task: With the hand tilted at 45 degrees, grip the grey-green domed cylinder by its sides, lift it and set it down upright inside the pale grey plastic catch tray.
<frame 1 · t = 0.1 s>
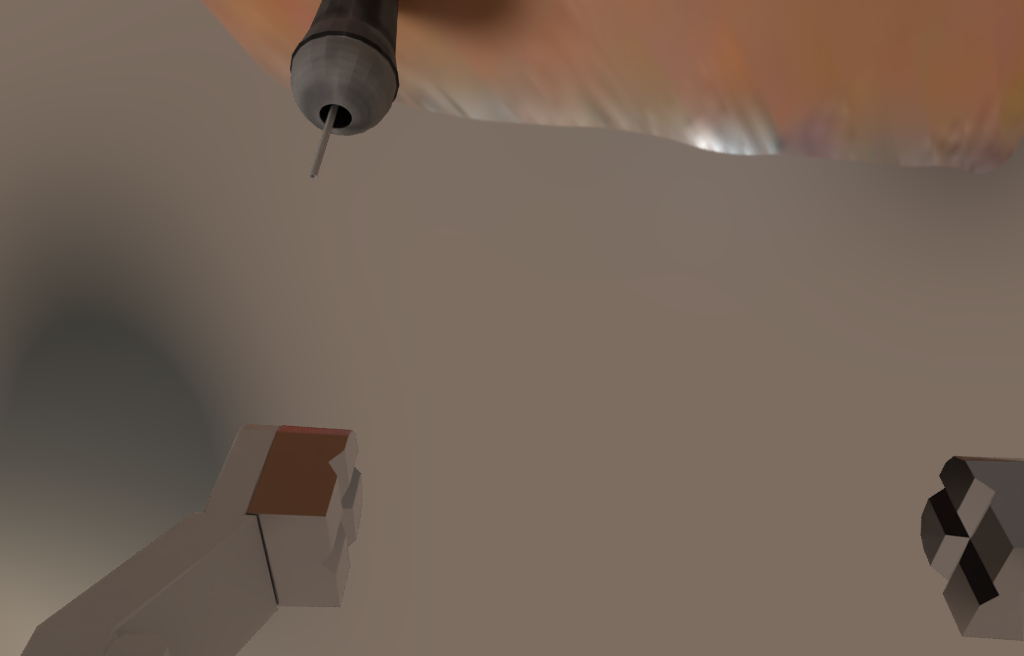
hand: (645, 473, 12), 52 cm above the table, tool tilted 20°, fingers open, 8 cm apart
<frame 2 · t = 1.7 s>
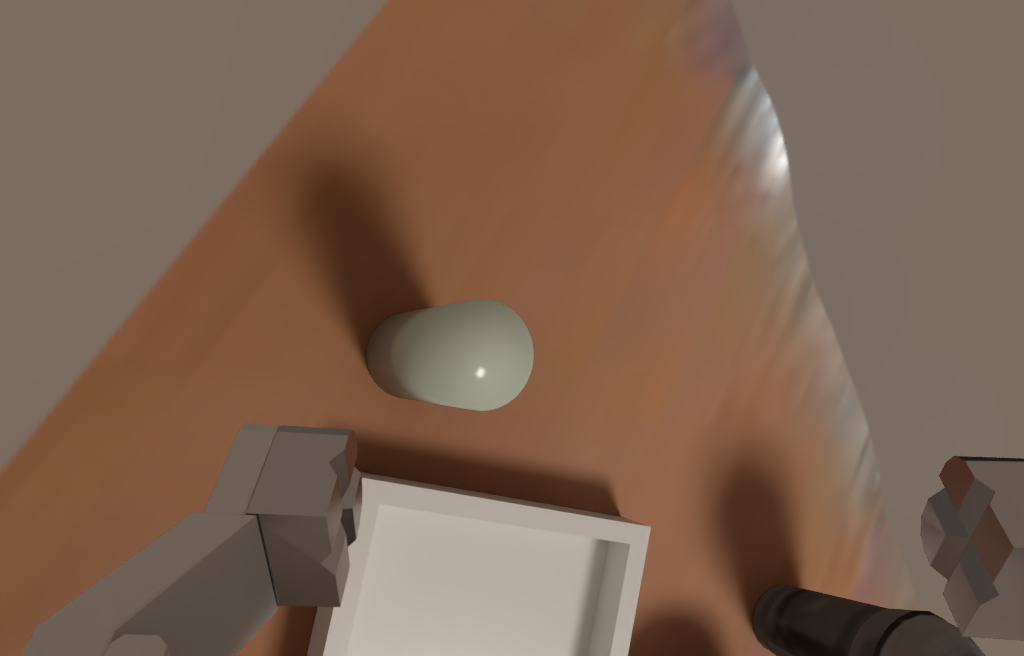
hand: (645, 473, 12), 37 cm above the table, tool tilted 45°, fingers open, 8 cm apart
beverage cup: (777, 617, 59), on the table
catch tray: (466, 629, 50), on the table
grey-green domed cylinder: (408, 355, 49), on the table
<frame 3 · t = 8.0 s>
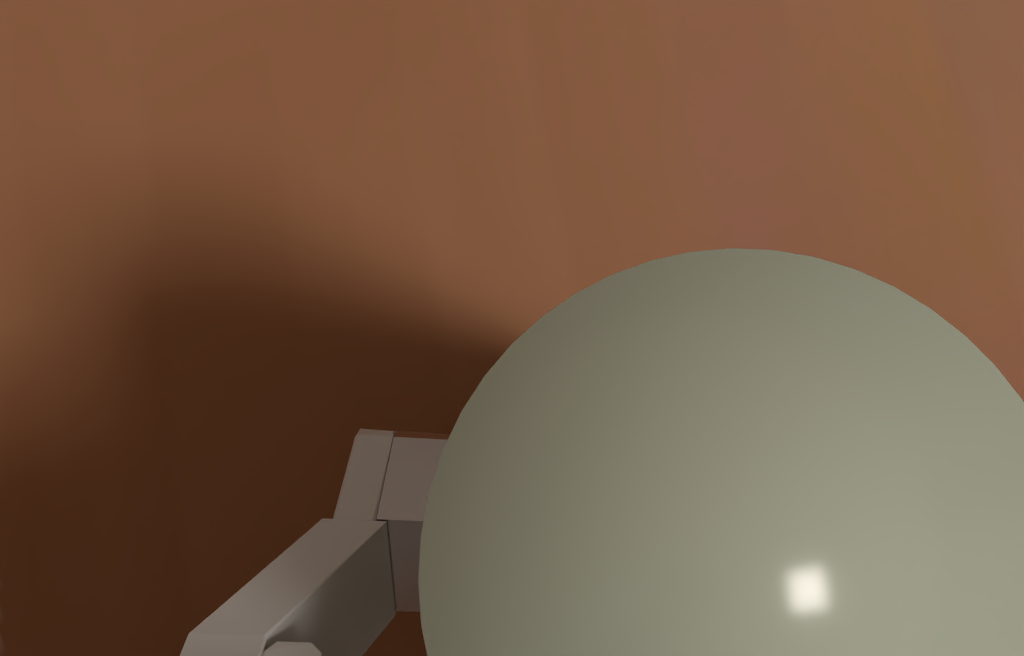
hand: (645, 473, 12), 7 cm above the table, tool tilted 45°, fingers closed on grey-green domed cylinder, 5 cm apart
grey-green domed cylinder: (598, 494, 18), on the table, touching gripper
when the fingers open (9 cm above the table, at t = 16.4 s): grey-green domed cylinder drops 1 cm, resting on catch tray.
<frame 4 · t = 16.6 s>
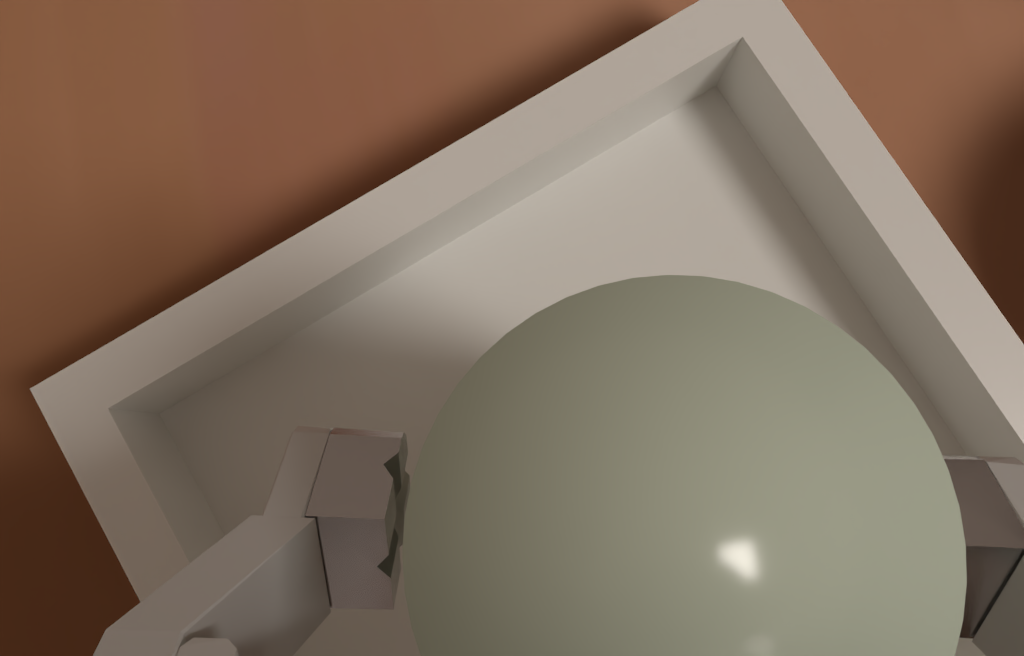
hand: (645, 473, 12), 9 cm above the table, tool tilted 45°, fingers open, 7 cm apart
catch tray: (590, 489, 20), on the table
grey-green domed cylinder: (594, 490, 19), point 1 cm above the table, touching catch tray
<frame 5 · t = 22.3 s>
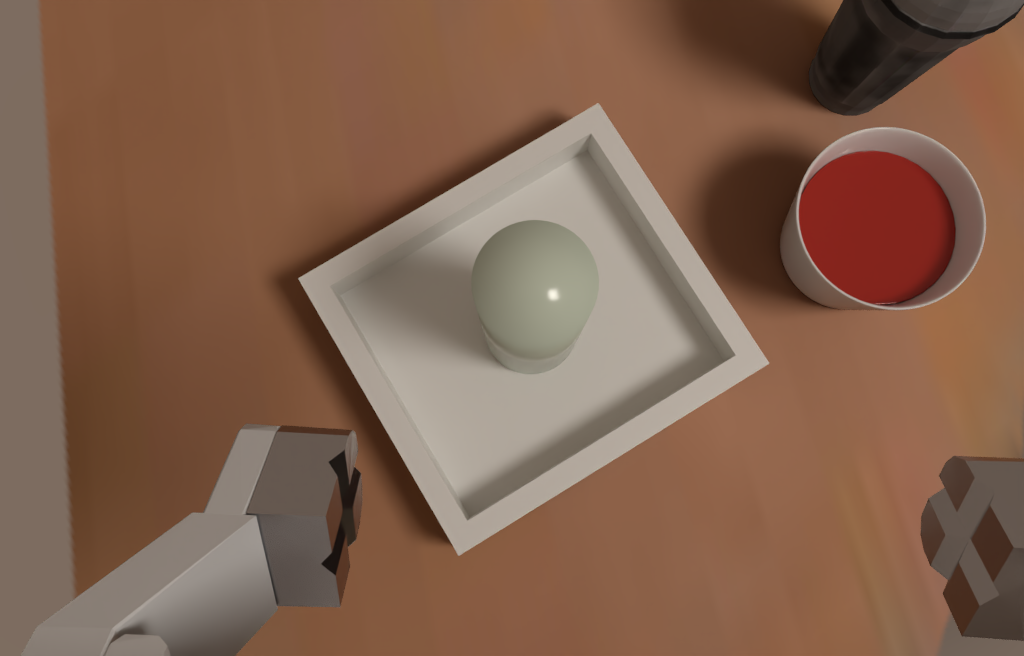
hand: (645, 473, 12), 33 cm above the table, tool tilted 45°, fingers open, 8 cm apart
beverage cup: (847, 79, 48), on the table
catch tray: (530, 330, 46), on the table
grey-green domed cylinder: (530, 327, 45), point 1 cm above the table, touching catch tray
candle: (839, 249, 47), on the table
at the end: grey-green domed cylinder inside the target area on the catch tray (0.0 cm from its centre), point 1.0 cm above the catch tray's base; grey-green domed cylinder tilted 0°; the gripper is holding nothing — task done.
